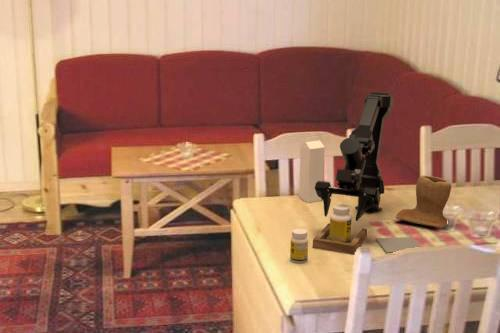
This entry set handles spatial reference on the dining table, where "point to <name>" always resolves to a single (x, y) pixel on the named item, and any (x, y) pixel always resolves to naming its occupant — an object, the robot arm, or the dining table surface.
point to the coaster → (396, 243)
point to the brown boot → (428, 202)
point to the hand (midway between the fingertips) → (340, 218)
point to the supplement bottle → (299, 246)
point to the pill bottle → (340, 224)
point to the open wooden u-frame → (337, 246)
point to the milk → (311, 168)
